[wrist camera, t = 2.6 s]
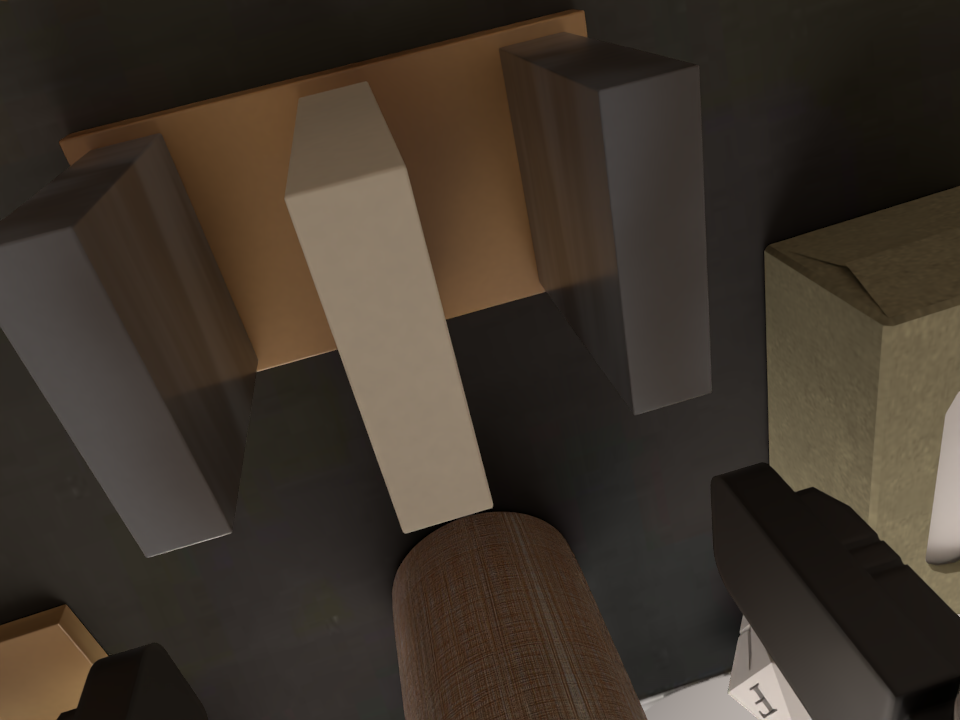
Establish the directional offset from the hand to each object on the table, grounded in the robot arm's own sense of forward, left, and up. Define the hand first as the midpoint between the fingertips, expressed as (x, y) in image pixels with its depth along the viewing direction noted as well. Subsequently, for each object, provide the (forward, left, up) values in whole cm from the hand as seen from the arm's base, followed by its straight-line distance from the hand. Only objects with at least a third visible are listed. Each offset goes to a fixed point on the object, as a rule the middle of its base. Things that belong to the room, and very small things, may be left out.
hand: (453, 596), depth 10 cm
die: (+30, -21, -20) cm, 42 cm away
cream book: (0, 0, -19) cm, 19 cm away
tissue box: (+26, -4, -20) cm, 33 cm away
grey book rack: (0, 0, -20) cm, 20 cm away
